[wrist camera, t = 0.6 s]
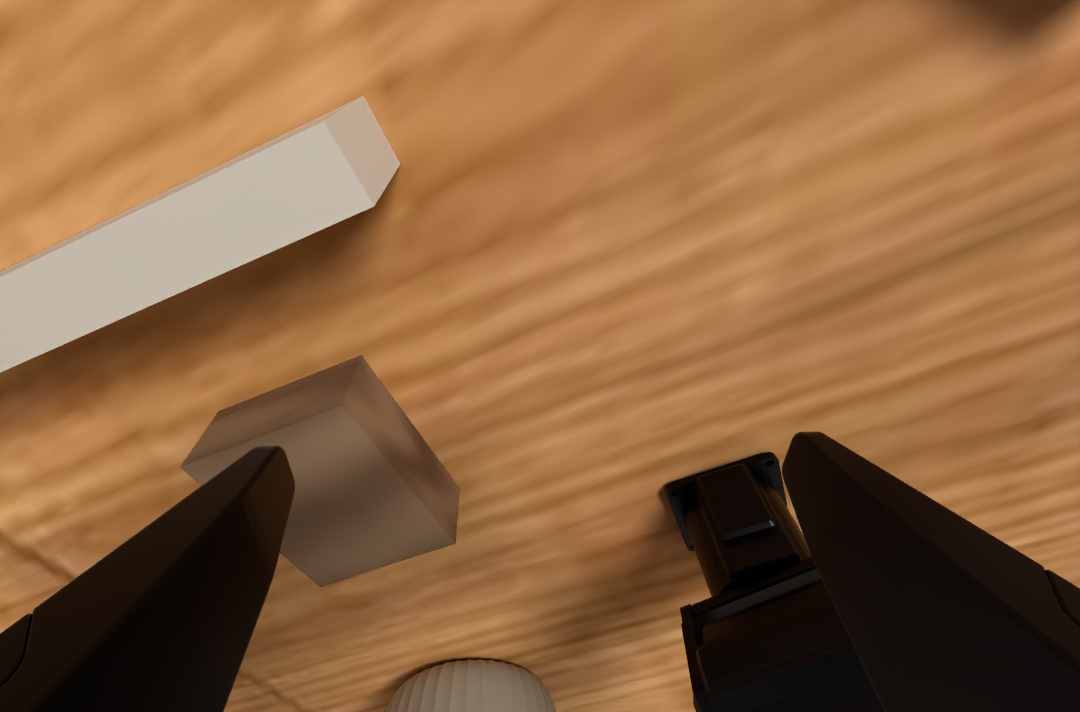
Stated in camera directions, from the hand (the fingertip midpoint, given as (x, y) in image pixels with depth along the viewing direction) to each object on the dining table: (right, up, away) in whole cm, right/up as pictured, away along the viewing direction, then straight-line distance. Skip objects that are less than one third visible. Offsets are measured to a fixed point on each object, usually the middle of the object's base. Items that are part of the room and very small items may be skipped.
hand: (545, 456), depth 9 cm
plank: (-15, +6, +11) cm, 20 cm away
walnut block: (-10, -3, +18) cm, 21 cm away
